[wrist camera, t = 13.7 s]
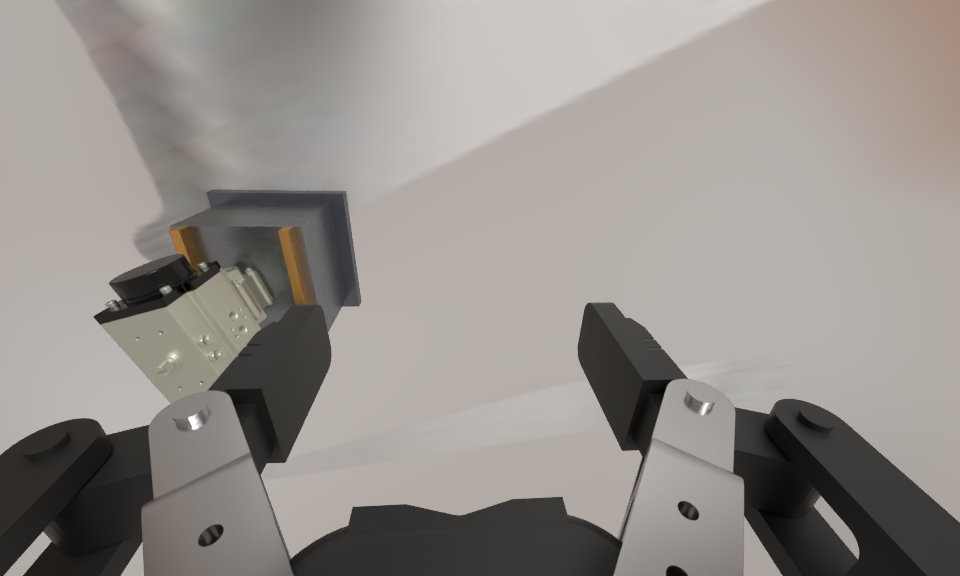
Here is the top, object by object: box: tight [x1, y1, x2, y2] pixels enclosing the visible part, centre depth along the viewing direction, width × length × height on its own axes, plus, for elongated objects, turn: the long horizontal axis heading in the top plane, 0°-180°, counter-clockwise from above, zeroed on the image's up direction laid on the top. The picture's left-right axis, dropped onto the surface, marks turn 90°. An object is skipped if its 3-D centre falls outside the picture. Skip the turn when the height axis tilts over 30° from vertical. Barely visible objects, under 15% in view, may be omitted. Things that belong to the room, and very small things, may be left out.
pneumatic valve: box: [94, 254, 273, 404], centre depth 29 cm, size 6×12×12 cm, turn 14°
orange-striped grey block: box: [169, 190, 361, 331], centre depth 38 cm, size 15×14×11 cm
